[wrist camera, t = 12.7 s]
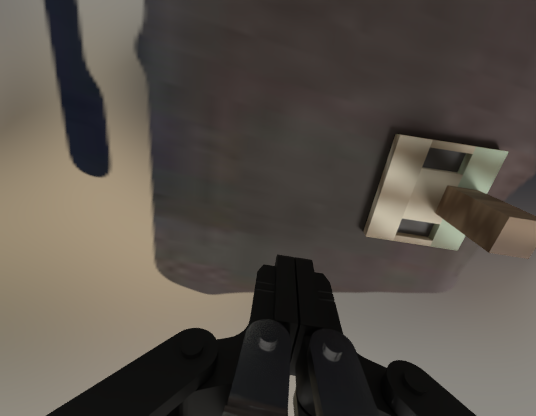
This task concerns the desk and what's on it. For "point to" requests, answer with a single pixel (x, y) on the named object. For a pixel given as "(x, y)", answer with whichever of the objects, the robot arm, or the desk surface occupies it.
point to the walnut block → (489, 221)
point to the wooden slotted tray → (427, 188)
